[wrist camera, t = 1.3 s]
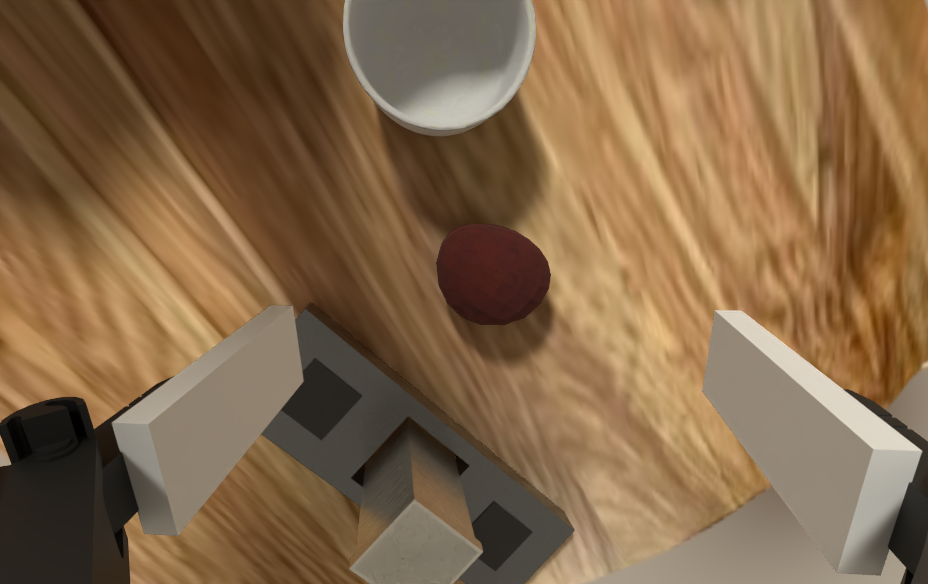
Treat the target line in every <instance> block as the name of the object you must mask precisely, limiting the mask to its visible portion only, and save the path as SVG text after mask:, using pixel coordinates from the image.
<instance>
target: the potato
mask: <svg viewBox="0 0 928 584" xmlns="http://www.w3.org/2000/svg"><path fill="white" fill-rule="evenodd" d="M436 264H437V273H438V283H439V287H440V289H441V291H442V293H443V295H444V297H445V299H446V301H447V303H448V304H449V305H450V306H451V307H452V308H453V309H454V310H455V311H456V312H457V313H458V314H459V315H460V316H461V317H463V318H465V319H467V320H470V321H472V322H475V323H478V324H480V325H505V324H508V323H511V322H513V321H516V320H519V319H522V318H525V317H526V316H527V315H528V314H530V313H531V312H532V311H533V310H534V309H535V308H536V307H537V306H538V305H539V304H540V303H541V302H542V300H543V298H544V296H545V295H546V293H547V291H548V289H549V284H550V276H551V274H550V269H549V265H548V261H547V260H546V258H545V256H544V255H543V253H542V252H541V250H540V249H539V248H538V247H537V246H536V245H535V244H534V243H532V242H531V241H530V240H529V239H528V238H526V237H524V236H523V235H521V234H520V233H518V232H516V231H514V230H511V229H508V228H505V227H502V226H497V225H491V224H470V225H463V226H460V227H458V228H456V229H455V230H453V231H451V232H450V233H449V234H448V236H447V237H446V238H445V240H444V241H443V242H442V244H441V247H440V251H439V255H438V258H437V262H436Z"/></svg>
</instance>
